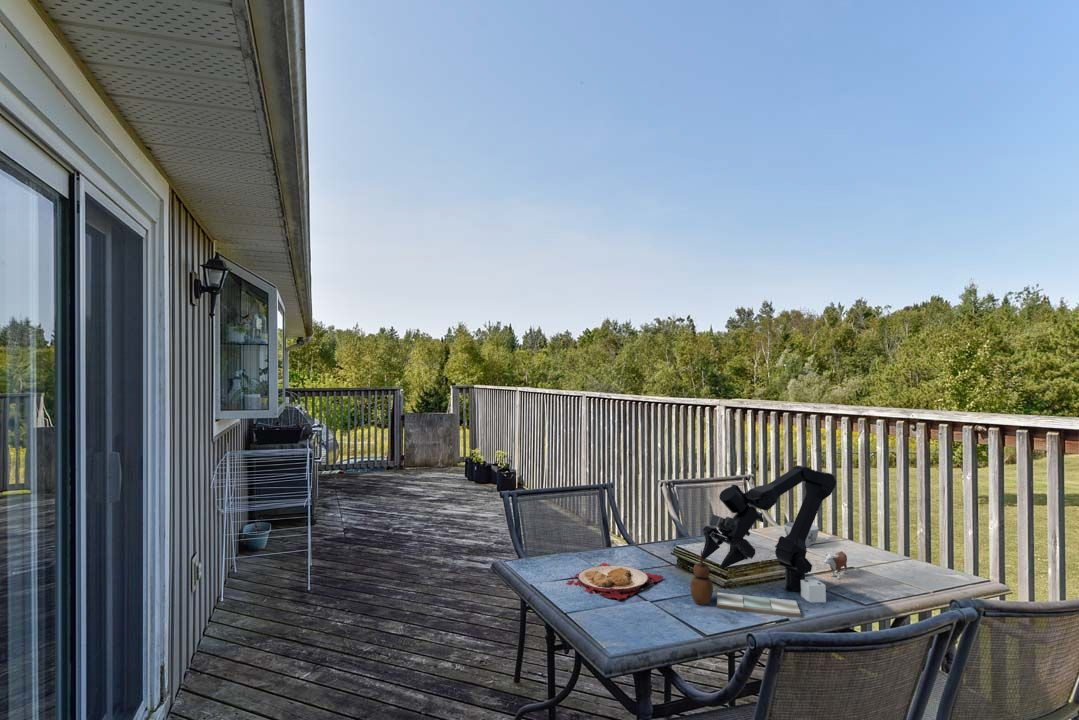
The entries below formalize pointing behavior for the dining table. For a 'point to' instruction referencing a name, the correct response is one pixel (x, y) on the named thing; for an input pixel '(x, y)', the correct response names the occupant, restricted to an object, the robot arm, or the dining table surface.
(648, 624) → the dining table surface
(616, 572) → the plate with food
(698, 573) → the wooden figurine
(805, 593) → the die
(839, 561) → the bull figurine
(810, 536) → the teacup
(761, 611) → the board
